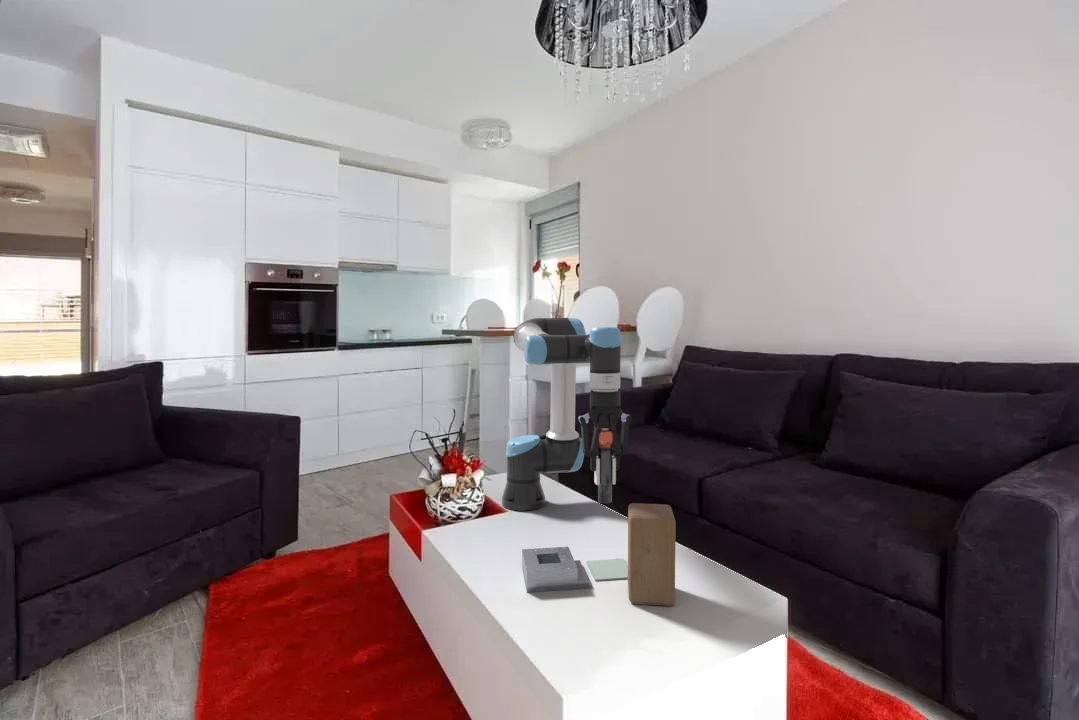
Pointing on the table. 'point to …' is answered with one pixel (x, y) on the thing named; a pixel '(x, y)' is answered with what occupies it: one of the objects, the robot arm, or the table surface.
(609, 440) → the red capped rod
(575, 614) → the table surface
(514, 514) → the table surface
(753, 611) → the table surface
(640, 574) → the wooden block
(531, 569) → the grey hollow block
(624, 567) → the mat
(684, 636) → the table surface
